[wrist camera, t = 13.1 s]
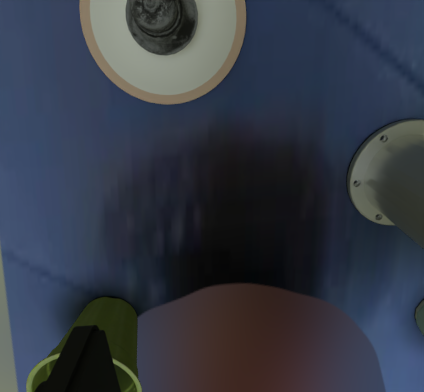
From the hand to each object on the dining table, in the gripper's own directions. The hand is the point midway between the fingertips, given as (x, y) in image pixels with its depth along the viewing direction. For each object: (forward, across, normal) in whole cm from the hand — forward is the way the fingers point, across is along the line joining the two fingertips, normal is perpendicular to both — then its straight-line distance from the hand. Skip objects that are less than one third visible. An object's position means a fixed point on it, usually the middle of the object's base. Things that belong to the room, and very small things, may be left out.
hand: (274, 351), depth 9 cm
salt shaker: (+28, +5, -11) cm, 30 cm away
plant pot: (+29, +17, +23) cm, 41 cm away
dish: (+29, +5, -11) cm, 32 cm away
